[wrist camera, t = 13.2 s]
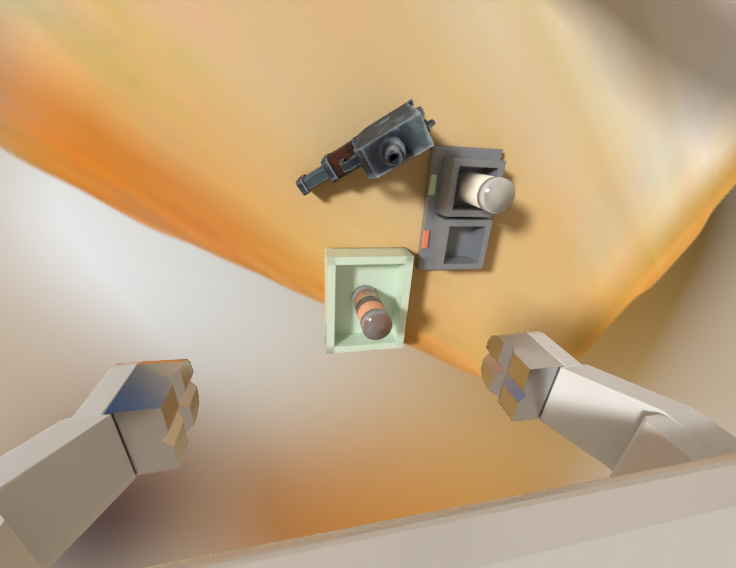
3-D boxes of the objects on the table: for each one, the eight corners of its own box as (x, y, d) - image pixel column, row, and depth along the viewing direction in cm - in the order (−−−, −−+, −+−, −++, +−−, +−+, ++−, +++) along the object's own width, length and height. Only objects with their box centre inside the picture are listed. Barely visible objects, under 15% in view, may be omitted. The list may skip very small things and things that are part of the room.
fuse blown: (351, 285, 44) (362, 314, 37) (378, 284, 44) (393, 312, 37) (350, 308, 45) (361, 341, 38) (376, 307, 46) (391, 339, 39)
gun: (259, 216, 25) (437, 109, 21) (301, 167, 39) (412, 98, 35) (280, 244, 26) (453, 148, 22) (314, 187, 40) (423, 122, 36)
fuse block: (432, 145, 39) (446, 146, 35) (498, 149, 41) (517, 150, 37) (416, 267, 45) (427, 278, 42) (473, 266, 47) (488, 276, 44)
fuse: (452, 169, 40) (486, 177, 32) (479, 171, 40) (518, 178, 33) (447, 200, 41) (479, 213, 34) (473, 200, 42) (510, 213, 35)
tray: (324, 248, 41) (327, 257, 38) (405, 247, 44) (414, 256, 40) (324, 338, 47) (326, 353, 44) (395, 333, 49) (402, 347, 46)
